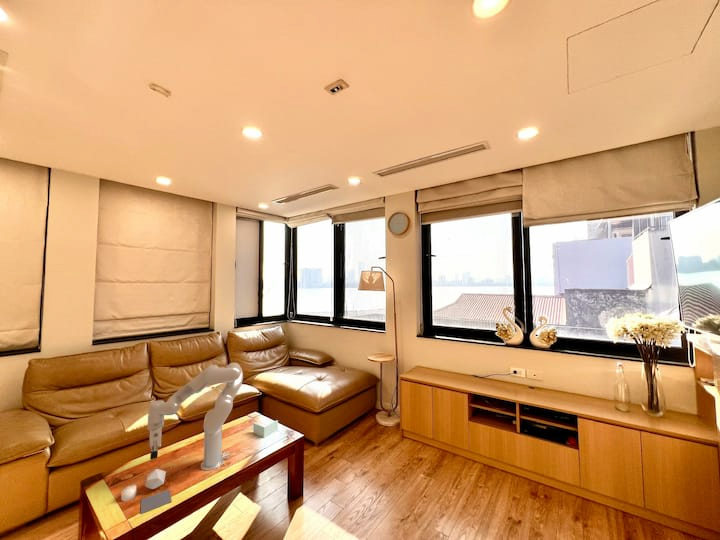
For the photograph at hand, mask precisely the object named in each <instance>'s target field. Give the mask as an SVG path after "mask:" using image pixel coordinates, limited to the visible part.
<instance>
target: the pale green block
mask: <svg viewBox="0 0 720 540" xmlns="http://www.w3.org/2000/svg"><path fill="white" fill-rule="evenodd" d="M278 425H279V420H275V421H273V422H271V423H269V424H267V425H265V426H264V425H262V424H259V423H258V422H253V428H252V429H253V430H252V431H253V434H255V435H256V436H259V437H260V438H263V439H266V438H267V437H268V436H271V435H272V434H274V433H276V432H279V431H278V430H279V429H278V428H279V426H278Z"/></svg>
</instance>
